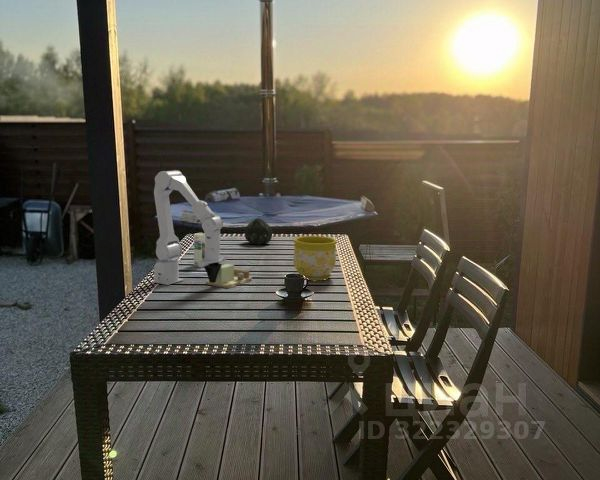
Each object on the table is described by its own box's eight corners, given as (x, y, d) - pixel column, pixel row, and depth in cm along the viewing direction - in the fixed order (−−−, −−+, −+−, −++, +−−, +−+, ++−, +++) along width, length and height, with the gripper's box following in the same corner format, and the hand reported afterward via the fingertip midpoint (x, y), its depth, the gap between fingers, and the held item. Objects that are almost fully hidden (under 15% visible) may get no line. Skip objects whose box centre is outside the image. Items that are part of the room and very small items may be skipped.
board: (228, 288, 227) (228, 279, 227) (205, 284, 233) (205, 275, 232) (251, 280, 241) (252, 271, 240) (230, 276, 246) (230, 267, 246)
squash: (264, 230, 331) (250, 211, 322) (281, 235, 321) (268, 216, 311) (248, 248, 326) (234, 230, 317) (265, 254, 315) (251, 235, 306)
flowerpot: (327, 285, 236) (329, 245, 234) (286, 280, 242) (287, 241, 240) (340, 275, 253) (342, 238, 250) (301, 271, 259) (302, 234, 256)
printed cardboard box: (193, 265, 264) (193, 233, 261) (201, 263, 269) (201, 232, 266) (203, 267, 261) (203, 235, 259) (211, 264, 266) (211, 233, 264)
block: (221, 283, 229) (221, 268, 228) (214, 282, 231) (214, 267, 230) (233, 279, 236) (234, 265, 235) (226, 278, 238) (227, 263, 237)
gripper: (208, 251, 217) (208, 287, 219) (232, 246, 229) (232, 280, 231) (193, 249, 220) (193, 284, 223) (218, 243, 232) (218, 277, 235)
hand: (212, 282), depth 227 cm, fingers closed
